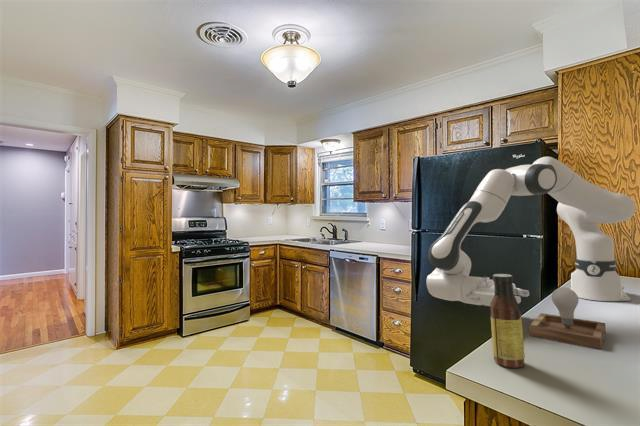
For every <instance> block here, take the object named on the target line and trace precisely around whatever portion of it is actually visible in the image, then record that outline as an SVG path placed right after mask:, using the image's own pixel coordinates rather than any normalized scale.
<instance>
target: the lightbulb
mask: <svg viewBox="0 0 640 426" xmlns="http://www.w3.org/2000/svg"><path fill="white" fill-rule="evenodd" d="M551 301H552V303H553V304H554V306H555V307H556V308H557V310H558V314H559V316H560V317H561V320H562V325H564V326H565V327H567V328H570V327H571V326H573V318H575V315H574V314H575V310H576V308H577V307H578V304H579V297H578V296H577V294H576V293H575V292H574V291H573V290H571V288H569V287H558V288H556V289H554V290H553V292H552V293H551Z"/></svg>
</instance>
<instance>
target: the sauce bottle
mask: <svg viewBox="0 0 640 426" xmlns="http://www.w3.org/2000/svg"><path fill="white" fill-rule="evenodd" d="M492 280H493V281H494V287H495V291H494V292H495V295H494V298H493V300H492V301H491V303H490V306H489V307H490V329H491V339H492V341H491V343H492V354H493V360H494V361H495V363H497V364H498V365H500V366H502V367H505V368H510V369H511V368H513V369H517V368H521V367H524V365H525V357H526V355H525V345H524V332H523V321H522V319H523V318H522V312H521V308H520V306H519V304H518V303H517V301H516V299H515V296H516V295H514V293H513V284H512V283H513V282H514V277H513V275H511V274H508V273H494V274H493V275H492Z"/></svg>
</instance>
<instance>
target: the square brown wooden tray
mask: <svg viewBox="0 0 640 426" xmlns="http://www.w3.org/2000/svg"><path fill="white" fill-rule="evenodd" d="M606 333H607V332H606V322H601V321H595V320H589V319H582V318H575V317H574V318H573V326H571V327H570V328H567V327H565V326H564V325H562V320H561V317H560V315H555V314H549V313H540V314H539V315H538V316H537V317H536V318H535V319H534V320H533V321H532V322H531V324H530V325H528V335H529V336H531V337H536V338H540V337H541V339H545V338H546V340H551V339H552V340H551V341H556V340H557V341H558V342H561V341H562V343H566V342H567V343H568V344H571V343H572V344H573V345H576V344H577V345H578V346H581V345H583V346H582V347H586V346H588V347H587V348H591V347H592V348H593V349H597V350H601V348H602V345H603V342H604V339H605V336H606ZM557 341H556V342H557ZM577 345H576V346H577Z"/></svg>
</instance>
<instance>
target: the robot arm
mask: <svg viewBox="0 0 640 426" xmlns="http://www.w3.org/2000/svg"><path fill="white" fill-rule="evenodd" d="M545 194H548V195H549V196H551V198H553V199H555V200H556V201H557V202H558V203H557V206H556V213H557V215H558V217H559V218H560V219H561V220H563V221H564V222H565V223H566V224H567V226H568V227H569V229H570V230H571V232H572V234H573V237H574V240H575V250H576V253H575V254H576V258H575V262H574V264H575V270H574V271H572V272H571V274H570V289H571V290H573V291H574V292H575V293H576V294H577V296H578V299H584V300H590V301H597V302H599V301H600V302H619V301H622V302H623V301H624V302H625V301H627V302H628V301H630V302H631V297H630V296H629V295H628V294H627V293H626V292H625V291H624V288H625V287H624V286H623V279H622V278H623V277H622V276H621V275H620V274H619V273H617V262H616V260H615V252H614V251H615V245H614V243H615V242H614V240H613V238H612V237H611V236H610V235H608V234H606V233H604V232H603V231H602V229H601V228H600V225H599V224H616V223H618V224H619V223H623V222H627V221H629V220H631V219H632V217H634V214H635V213H636V203H635V201H634V200H633V198H632V197H631V196H629V195H627V194H623V193H619V192H614V191H611V190H609V189H606V188H603V187H600V186H598V185H596V184H594V183H591V182H589V181H587V180H586V179H584V178H583V177H582V176H580V175H579V174H578V173H577V172H575V171H574V170H573V169H572V168H570V167H569V166H568V165H566V164H565V163H564V162H562V161H560V160H558V159H556V158H554V157H552V156H543V157H540V158H538V159H536V160H534V161H533V163H532V164H520V165H516V166H511V167H505V168H503V169H501V168H496V169H495V168H494V169H491V170H490V171H489V172H488V173H487V174H486V175H485V177H483V178H482V180H481V182H479V184H478V186H477V187H476V189H475V190H474V192H473V194H472V196H471V198H470V199H469V200H468V202H466V203H465V204H463V205H462V206H461V208H460V209H459V211H457V213H456V214H455V216H454V217H453V219H452V220H451V222H450V223H449V224H448V226H447V227H446V229H445V230H444V232H443V233H442V234H441V235H440V236H439V237H438V238H437V239H435V241H434V242H433V243H431V245H430V247H429V248H428V253H427V258H428V261H429V263H430V264H431V265H432V266H433V267H434V268H435V269H434V270H432V272H431V273H430V274H428V275H427V276H426V280H425V286H426V288H427V291H428V293H429V294H430V295H431V296H432V297H434V298H437V299H441V300H445V301H450V302H462V303H464V304H470V305H476V306H485V307H490V303H491V301H492V300H493V298H494V295H495V292H494V291H495V287H494V281H493V279H490V277H487V276H482V277H481V276H472V275H471V276H470V274H471V270H472V265H473V264H472V260H471V258H470V257H469V256H468V254H467V253H465V252H464V250H462V249H461V246H462V243H463V241H464V239H465V238H466V236H467V235H468V233H469V232H470V230H471V229H472V227H474V225H475V224H477V223H490V222H494V221H496V220H497V219H498V218H499V217H500V216H501V215H502V213H503V211H504V210H505V208H506V206H507V204H508V202H509V200H510V198H511V197H512V196H514V197H515V196H517V197H524V196H534V195H535V196H540V195H541V196H542V195H545ZM512 284H513V293H514V296H515V299H516V301H517V303H518V305H519V304H520V303H521V302H522V298H523V297H524V298H525V297H526V298H528V297H529V296H530V291H529V290H528V289H522V288H519V287H516V284H515V283H512Z"/></svg>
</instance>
